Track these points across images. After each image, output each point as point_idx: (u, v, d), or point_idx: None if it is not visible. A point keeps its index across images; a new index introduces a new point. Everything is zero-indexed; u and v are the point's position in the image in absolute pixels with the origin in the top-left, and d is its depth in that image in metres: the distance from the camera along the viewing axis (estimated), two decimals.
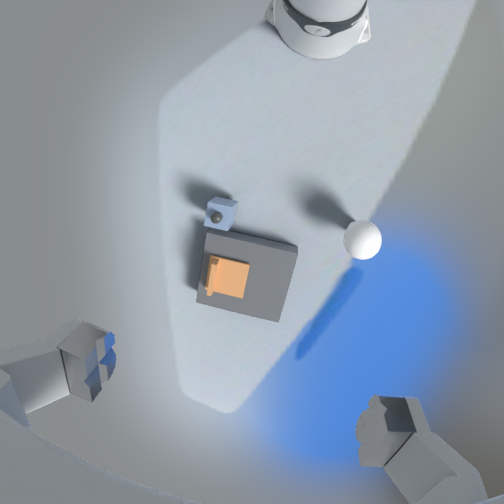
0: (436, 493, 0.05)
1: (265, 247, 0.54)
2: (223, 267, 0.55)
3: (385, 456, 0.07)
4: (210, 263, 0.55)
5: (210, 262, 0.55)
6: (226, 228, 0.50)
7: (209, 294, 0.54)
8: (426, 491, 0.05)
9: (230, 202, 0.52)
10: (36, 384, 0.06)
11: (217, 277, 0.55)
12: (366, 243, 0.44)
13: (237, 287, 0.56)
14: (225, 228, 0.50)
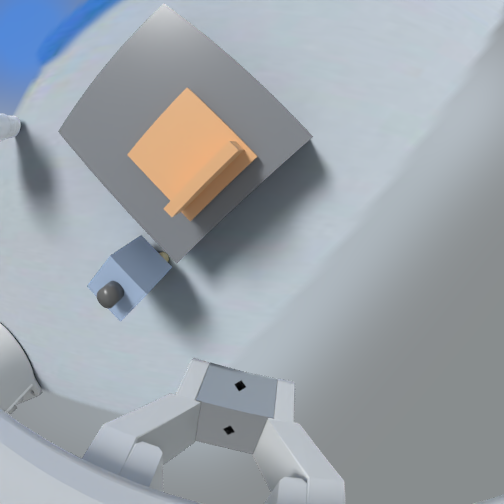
0: (274, 493, 0.05)
1: (94, 171, 0.23)
2: (179, 180, 0.21)
3: (252, 442, 0.07)
4: (200, 206, 0.22)
5: (199, 208, 0.22)
6: (109, 261, 0.22)
7: (229, 147, 0.18)
8: None
9: None
10: (169, 443, 0.06)
11: None
12: None
13: (179, 118, 0.20)
14: (111, 262, 0.22)
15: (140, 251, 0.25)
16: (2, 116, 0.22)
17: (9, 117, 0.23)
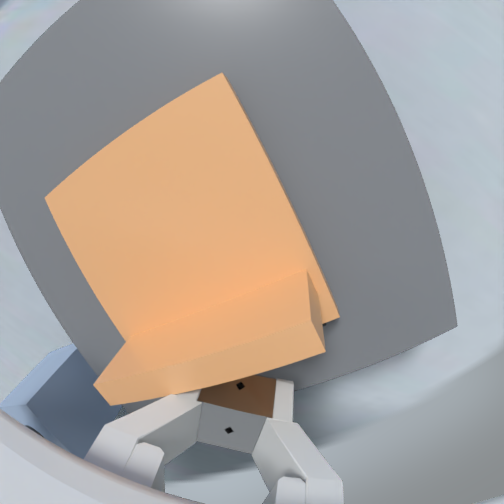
0: (273, 493, 0.05)
1: (10, 226, 0.10)
2: (141, 301, 0.09)
3: (250, 442, 0.07)
4: None
5: None
6: (26, 409, 0.09)
7: (303, 337, 0.06)
8: None
9: None
10: (170, 443, 0.06)
11: (214, 298, 0.09)
12: None
13: (176, 154, 0.07)
14: (29, 412, 0.09)
15: (80, 377, 0.13)
16: None
17: None
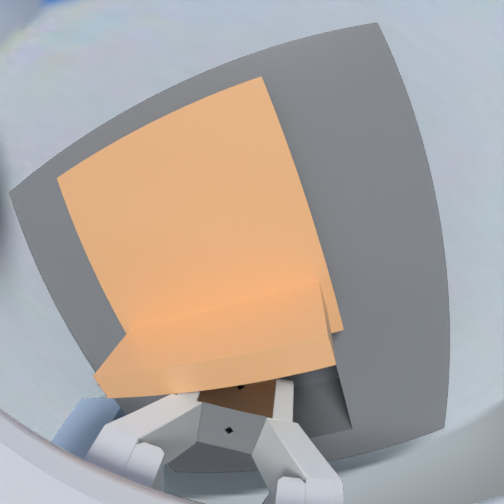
0: (272, 493, 0.05)
1: (65, 318, 0.11)
2: (148, 295, 0.09)
3: (250, 442, 0.07)
4: None
5: None
6: None
7: (317, 349, 0.06)
8: None
9: None
10: (170, 443, 0.06)
11: (223, 300, 0.09)
12: None
13: (204, 152, 0.07)
14: None
15: None
16: None
17: None
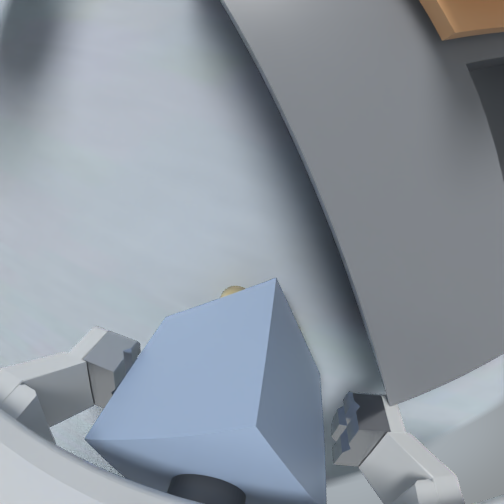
0: (408, 496, 0.05)
1: (238, 9, 0.05)
2: None
3: (359, 455, 0.07)
4: (494, 16, 0.03)
5: (489, 18, 0.03)
6: (239, 440, 0.04)
7: None
8: (401, 493, 0.05)
9: None
10: (60, 397, 0.06)
11: None
12: None
13: None
14: (245, 445, 0.04)
15: (289, 347, 0.08)
16: None
17: None
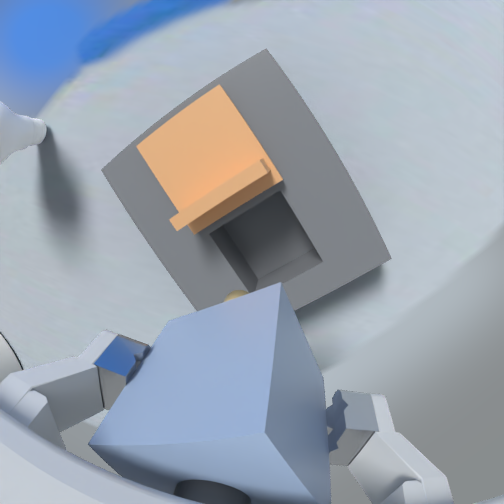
0: (395, 497, 0.05)
1: (143, 232, 0.21)
2: (190, 187, 0.19)
3: (348, 455, 0.07)
4: (209, 220, 0.20)
5: (207, 222, 0.20)
6: (247, 446, 0.04)
7: (258, 167, 0.16)
8: (390, 494, 0.05)
9: None
10: (70, 403, 0.06)
11: (224, 178, 0.19)
12: None
13: (204, 118, 0.17)
14: (253, 451, 0.04)
15: (294, 351, 0.08)
16: (26, 121, 0.20)
17: (34, 122, 0.21)
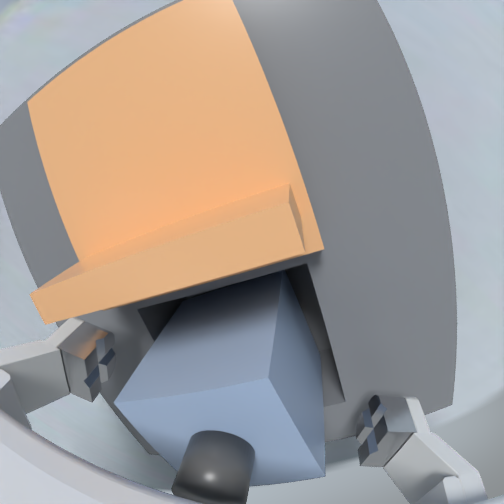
0: (436, 493, 0.05)
1: (31, 268, 0.10)
2: (103, 213, 0.08)
3: (385, 456, 0.07)
4: None
5: None
6: (254, 391, 0.06)
7: (277, 227, 0.05)
8: (426, 491, 0.05)
9: None
10: (36, 384, 0.06)
11: (181, 211, 0.07)
12: None
13: (165, 53, 0.06)
14: (258, 397, 0.06)
15: (294, 325, 0.09)
16: None
17: None
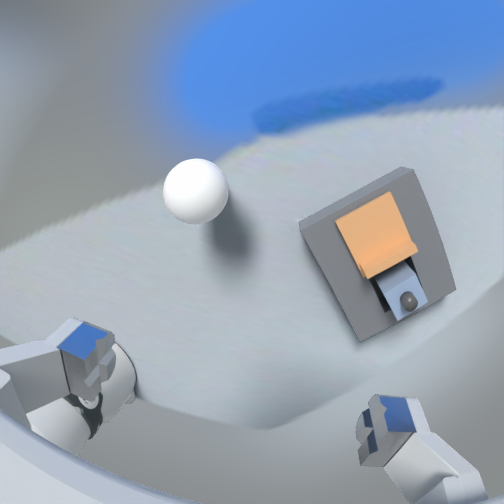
0: (436, 493, 0.05)
1: (325, 273, 0.34)
2: (366, 251, 0.31)
3: (384, 456, 0.07)
4: None
5: None
6: (413, 277, 0.29)
7: (414, 248, 0.28)
8: (426, 491, 0.05)
9: None
10: (36, 384, 0.06)
11: (386, 247, 0.31)
12: (183, 199, 0.26)
13: (380, 211, 0.30)
14: (414, 278, 0.29)
15: None
16: None
17: None
